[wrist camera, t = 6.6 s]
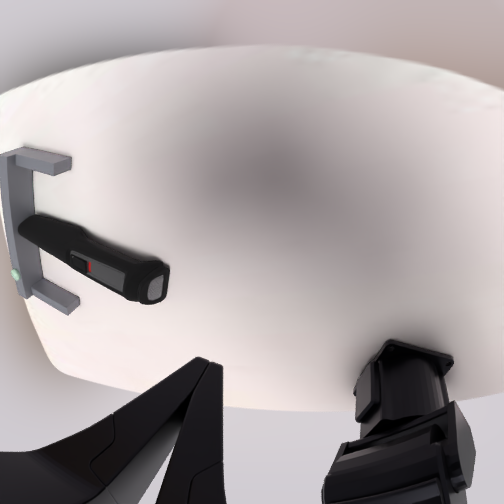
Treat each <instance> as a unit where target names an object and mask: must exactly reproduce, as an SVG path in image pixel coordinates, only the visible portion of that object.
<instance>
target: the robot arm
mask: <svg viewBox="0 0 504 504" xmlns="http://www.w3.org/2000/svg"><path fill="white" fill-rule="evenodd" d="M390 346H393V347H391V348H389V347H390ZM447 362H448V363H447ZM453 364H454V360H453V357H451V356H448V355H444V354H441V353H437V352H433V351H430V350H426V349H422V348H419V347H415V346H411V345H408V344H404V343H401V342H397V341H394V340H389V341H387V342H386V343H385V344H384V345H383V347H382V348H381V350H380V352H379V353H378V355H377V356H376V358H375V359H374V360H373V361H371V362H370V363H369V364H368V366H367V367H366V369H365V370H364V372H363V373H362V375H361V376H360V377H359V379H358V380H357V385H356V386H355V388H354V390H353V394H354V396H356V412H355V420H356V422H358V423H361V430H360V431H361V432H360V439H359V440H356V441H353V442H345V443H342V444H341V446H340V448H339V451H338V453H337V455H336V457H335V460H334V462H333V464H332V466H331V468H330V471H329V473H328V475H327V476H326V477H325V479H324V484H323V487H322V491H321V493H322V504H467V498H466V491H465V489H467V488H470V486H471V484H472V477H473V471H474V464H475V456H476V451H475V447H474V441H473V437H472V433H471V429H470V426H469V425H468V423H467V421H466V419H465V417H464V416H463V414H462V412H461V411H460V409H459V407H458V405H457V403H456V402H455V400H454V401H452V402H450V403H449V398H448V393H447V389H446V384H445V379H444V376H445V375H446V373H447V372H448V371H449V370H450V368H451V367H452V366H453ZM174 445H175V446H174ZM173 447H174V449H173V452H172V455H171V458H170V461H169V464H168V467H167V470H166V473H165V476H164V479H163V482H162V485H161V488H160V491H159V494H158V498H157V500H156V503H155V504H227V503H226V496H225V490H224V473H223V472H224V470H223V366H222V365H220V364H218V363H215V362H210V361H209V360H207V359H204V358H202V357H195V358H194V359H192V360H191V361H190V362H188V363H187V364H185V365H184V366H182V367H181V368H180V369H178V370H177V371H175V372H174V373H172V374H171V375H169V376H168V377H166V378H165V379H163V380H162V381H160V382H159V383H158V384H156V385H155V386H153V387H152V388H150V389H149V390H147V391H146V392H144V393H143V394H141V395H140V396H138V397H137V398H135V399H133V400H132V401H130V402H129V403H127V404H126V405H124V406H123V407H121V408H120V409H118V410H116V411H115V412H114V413H113V414H110V415H109V416H107V417H105V418H104V419H102V420H101V421H99V422H97V423H95V424H94V425H92V426H90V427H88V428H86V429H84V430H82V431H80V432H78V433H76V434H74V435H72V436H69V437H67V438H64V439H62V440H60V441H57V442H55V443H53V444H50V445H48V446H45V447H43V448H40V449H37V450H32V451H26V452H0V504H138V503H139V501H140V499H141V498H142V496H143V494H144V493H145V492H146V490H147V488H148V487H149V485H150V484H151V482H152V480H153V479H154V477H155V475H156V474H157V473H158V471H159V469H160V468H161V466H162V464H163V463H164V461H165V460H166V458H167V456H168V455H169V453H170V452H171V450H172V448H173Z"/></svg>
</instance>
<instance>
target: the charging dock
mask: <svg viewBox="0 0 504 504" xmlns="http://www.w3.org/2000/svg"><path fill="white" fill-rule="evenodd" d="M32 170H34V171H38V172H41V173H45V174H48V175H51V176H55V175H58V174H60V173H63V172H66V171H68V170H71V157H67V156H63V155H59V154H54V153H50V152H45V151H41V150H36V149H32V148H27V147H21V148H18V149H14V150H11V151H8V152H5V153H3V154H0V188H1V199H2V208H3V216H4V223H5V230H6V237H7V242H8V248H9V253H10V259H11V263H12V268H13V270H12V271H11V274H12V277H13V278H14V279H15V281H16V285H17V290H18V293H19V295H21V296H22V297H24V298H25V299H28V298H29V297H31V296H32V295H34V296H36V297H37V298H39V299H41V300H42V301H44V302H46V303H47V304H49V305H50V306H52V307H54V308H56V309H57V310H59V311H61V312H62V313H64V314H66V315H69V314H70V313H71V312H73V311H74V310H75V309H76V308H77V307H78V306H79V305H80V302H79V297H78V296H76V295H74V294H72V293H70V292H68V291H66V290H64V289H62V288H61V287H59V286H57V285H55V284H53V283H51V282H50V281H48V280H46V279H44V278H43V274H42V268H41V261H40V255H39V248H38V246H36V245H35V244H33V243H32V242H30V241H28V240H27V239H25V238H24V237H22V236H21V235H20V234H19V233H18V226H19V225H20V223H22V222H23V221H24V220H25V219H27V218H28V217H29V216H32V215H35V212H34V198H33V179H32Z"/></svg>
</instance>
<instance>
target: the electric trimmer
mask: <svg viewBox="0 0 504 504" xmlns="http://www.w3.org/2000/svg"><path fill="white" fill-rule="evenodd" d="M18 233H19V234H20V235H21V236H22V237H24V238H25V239H27V240H28V241H30V242H32V243H33V244H35V245H36V246H38V247H40V248H41V249H43V250H44V251H46V252H48V253H49V254H51V255H53V256H54V257H56V258H58V259H59V260H61V261H63V262H64V263H66V264H67V265H69V266H70V267H71V268H73V269H74V270H76V271H78V272H79V273H81V274H83V275H85V276H86V277H88V278H90V279H92V280H93V281H95V282H97V283H99V284H101V285H102V286H104V287H106V288H108V289H110V290H112V291H114V292H115V293H117V294H119V295H121V296H123V297H124V298H126V299H127V300H129V301H135V302H140V303H141V304H145V305H152V304H156V303H159V302H161V301H163V300H164V299H165V297H166V294H167V288H168V281H169V273H170V270H169V269H168V268H166V267H164V265H163V262H161V261H156V260H155V261H147V262H141V261H138V260H136V259H133V258H131V257H129V256H126V255H124V254H122V253H119V252H117V251H115V250H112V249H110V248H108V247H105V246H103V245H101V244H99V243H96V242H94V241H92V240H89V239H88V238H87V237H86V235H85V234H84V232H83V231H82V229H81V228H79V227H76V226H73V225H70V224H66V223H63V222H59V221H56V220H52V219H49V218H45V217H42V216H38V215H32V216H29V217H28V218H27V219H25V220H24V221H23V222H22V223H20V225H19V226H18Z"/></svg>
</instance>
